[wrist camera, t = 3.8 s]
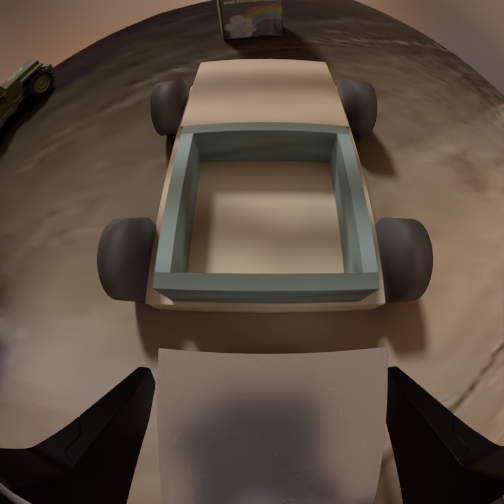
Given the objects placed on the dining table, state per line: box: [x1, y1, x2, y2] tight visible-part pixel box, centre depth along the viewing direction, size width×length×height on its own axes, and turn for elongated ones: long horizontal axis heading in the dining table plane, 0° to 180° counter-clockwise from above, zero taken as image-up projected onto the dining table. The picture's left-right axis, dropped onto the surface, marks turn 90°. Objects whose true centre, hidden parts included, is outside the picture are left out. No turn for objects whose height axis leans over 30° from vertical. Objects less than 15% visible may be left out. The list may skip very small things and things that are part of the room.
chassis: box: [97, 59, 433, 313], centre depth 18 cm, size 20×18×5 cm
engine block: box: [157, 347, 388, 504], centre depth 9 cm, size 5×5×11 cm
